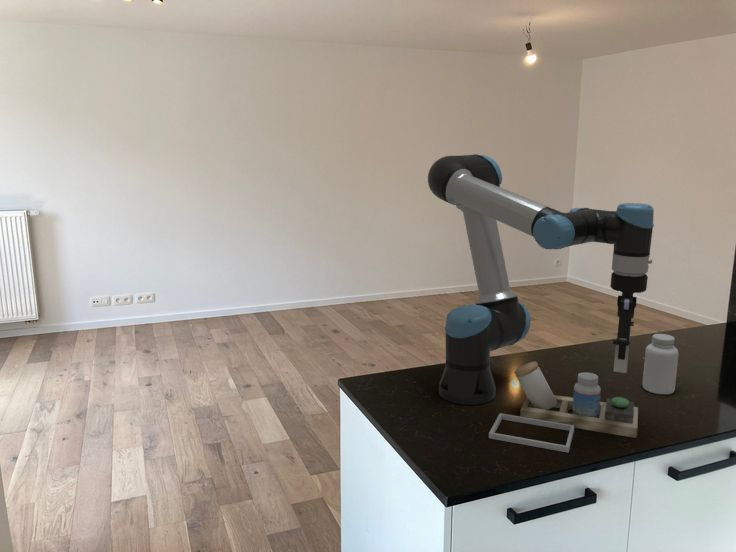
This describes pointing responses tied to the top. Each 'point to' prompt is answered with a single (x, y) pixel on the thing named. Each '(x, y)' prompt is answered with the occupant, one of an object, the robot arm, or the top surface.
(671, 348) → the pill bottle
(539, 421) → the white rectangular frame
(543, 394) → the white canister
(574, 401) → the pill bottle
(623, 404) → the button
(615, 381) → the top surface
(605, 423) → the wooden divided rack
